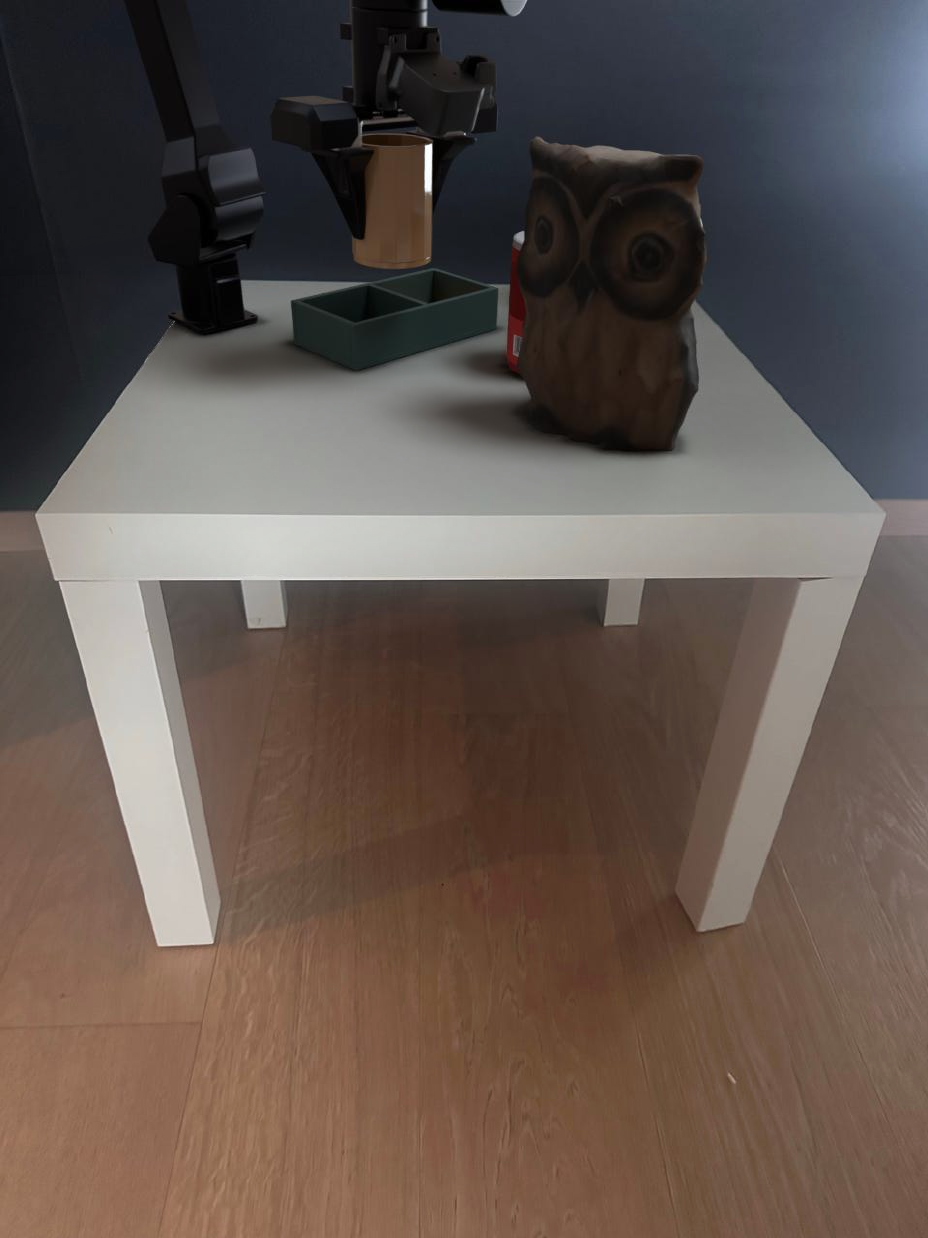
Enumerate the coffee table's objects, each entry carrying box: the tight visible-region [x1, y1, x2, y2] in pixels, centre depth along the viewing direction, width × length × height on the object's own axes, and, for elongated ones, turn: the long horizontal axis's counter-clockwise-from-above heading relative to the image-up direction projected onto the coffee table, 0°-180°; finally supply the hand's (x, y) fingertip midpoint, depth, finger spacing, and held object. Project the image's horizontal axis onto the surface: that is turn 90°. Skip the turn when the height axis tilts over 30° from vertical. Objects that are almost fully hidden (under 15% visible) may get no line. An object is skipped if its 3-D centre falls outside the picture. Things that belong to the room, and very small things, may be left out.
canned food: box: [505, 230, 526, 375], centre depth 80 cm, size 8×8×11 cm
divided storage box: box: [290, 267, 499, 371], centre depth 87 cm, size 9×18×4 cm, turn 134°
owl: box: [516, 136, 707, 452], centre depth 67 cm, size 13×13×20 cm
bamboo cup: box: [351, 133, 433, 270], centre depth 75 cm, size 7×7×9 cm
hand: (391, 232), depth 77 cm, fingers closed on bamboo cup, 6 cm apart
